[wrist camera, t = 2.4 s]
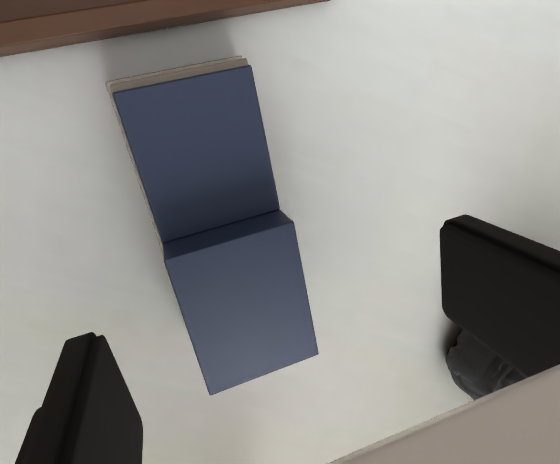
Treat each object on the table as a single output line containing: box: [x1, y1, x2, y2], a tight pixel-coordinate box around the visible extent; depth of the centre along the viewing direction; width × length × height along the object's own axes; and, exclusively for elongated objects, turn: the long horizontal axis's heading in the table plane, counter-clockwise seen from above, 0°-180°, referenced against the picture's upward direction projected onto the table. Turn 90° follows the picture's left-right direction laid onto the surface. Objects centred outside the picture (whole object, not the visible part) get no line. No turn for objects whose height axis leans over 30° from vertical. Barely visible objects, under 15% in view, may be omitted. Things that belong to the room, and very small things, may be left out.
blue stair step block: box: [106, 56, 318, 395], centre depth 18 cm, size 6×14×6 cm, turn 12°
